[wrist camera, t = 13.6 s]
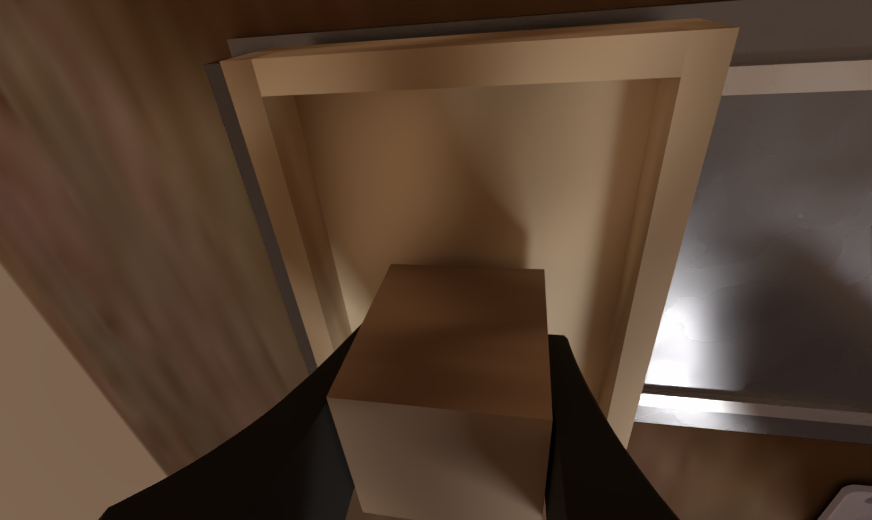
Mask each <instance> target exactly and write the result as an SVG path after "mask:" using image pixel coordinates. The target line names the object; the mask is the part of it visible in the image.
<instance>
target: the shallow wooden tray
mask: <svg viewBox="0 0 872 520" xmlns="http://www.w3.org/2000/svg"><path fill="white" fill-rule="evenodd" d="M739 28H740V27H736V26H731V25H727V24H722V23H718V22H713V21H709V20H704V19H700V18H691V19H677V20H663V21H649V22H634V23H620V24H606V25H592V26H577V27H563V28H549V29H534V30H520V31H506V32H492V33H477V34H463V35H449V36H435V37H420V38H406V39H392V40H377V41H363V42H349V43H335V44H320V45H306V46H292V47H278V48H268V49H264V50H261V51H257V52H253V53H249V54H245V55H241V56H238V57H234V58H230V59H226V60H222V61H220V64H221V67H222V70H223V74H224V77H225V80H226V83H227V86H228V89H229V92H230V95H231V99H232V102H233V105H234V108H235V111H236V114H237V117H238V120H239V124H240V127H241V130H242V133H243V136H244V139H245V142H246V145H247V148H248V152H249V155H250V158H251V161H252V164H253V167H254V170H255V173H256V177H257V180H258V183H259V186H260V189H261V192H262V195H263V198H264V202H265V205H266V208H267V211H268V214H269V217H270V220H271V223H272V227H273V230H274V233H275V236H276V239H277V242H278V245H279V248H280V252H281V255H282V258H283V261H284V264H285V267H286V270H287V273H288V277H289V280H290V283H291V286H292V289H293V292H294V295H295V298H296V302H297V305H298V308H299V311H300V314H301V317H302V320H303V323H304V327H305V330H306V333H307V336H308V339H309V342H310V345H311V348H312V351H313V355H314V358H315V361H316V364H317V367H319V366H320V365H321V364H322V363H323V362H324V361H325V360H326V359H327V358H328V357H329V356H330V355H331V354H332V353H333V352H334V351H335V350H336V349H337V348H338V347H339V346H340V345H341V344H342V343H343V342H344V341H345V340H346V339H347V338H348V337H349V336H350V335H351V334H352V333H353V332H354V331H355V330H356V329H357V328H358V327H359V326H360V325H361V324H362V322H363V320H364V318H365V316H366V314H367V312H368V310H369V308H370V306H371V304H372V302H373V300H374V298H375V296H376V294H377V291H378V289H379V287H380V285H381V283H382V281H383V279H384V277H385V275H386V273H387V271H388V269H389V267H390V265H391V264H409V265H437V266H466V267H494V268H522V269H544V271H545V289H546V307H547V326H548V334H553V335H565V336H566V337H567V338H568V341H569V344H570V347H571V349H572V352H573V355H574V357H575V359H576V362H577V364H578V366H579V368H580V371H581V373H582V375H583V377H584V379H585V381H586V383H587V385H588V387H589V389H590V391H591V393H592V394H593V396H594V398H595V400H596V402H597V404H598V406H599V407H600V409H601V411H602V412H603V414H604V416H605V418H606V419H607V421H608V423H609V424H610V426H611V427H612V429H613V431H614V432H615V434H616V435H617V437H618V439H619V440H620V442H621V443H622V445H623V446H624V448H625V449H627V445H628V442H629V438H630V434H631V431H632V427H633V423H634V419H635V416H636V412H637V408H638V404H639V401H640V397H641V393H642V390H643V386H644V382H645V378H646V375H647V371H648V367H649V363H650V360H651V356H652V352H653V349H654V345H655V341H656V337H657V334H658V330H659V326H660V323H661V319H662V315H663V311H664V308H665V304H666V300H667V296H668V293H669V289H670V285H671V282H672V278H673V274H674V270H675V267H676V263H677V259H678V255H679V252H680V248H681V244H682V241H683V237H684V233H685V229H686V226H687V222H688V218H689V215H690V211H691V207H692V203H693V200H694V196H695V192H696V188H697V185H698V181H699V177H700V174H701V170H702V166H703V162H704V159H705V155H706V151H707V147H708V144H709V140H710V136H711V133H712V129H713V125H714V121H715V118H716V114H717V110H718V107H719V103H720V99H721V95H722V92H723V88H724V84H725V80H726V77H727V73H728V69H729V66H730V62H731V58H732V54H733V51H734V47H735V43H736V39H737V36H738V32H739Z"/></svg>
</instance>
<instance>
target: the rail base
mask: <svg viewBox="0 0 872 520" xmlns="http://www.w3.org/2000/svg"><path fill="white" fill-rule="evenodd" d="M691 18H700V19H704V20H709V21H713V22H718V23H722V24H727V25H731V26H736V27H740V28H739V32H738V36H737V39H736V43H735V47H734V51H733V54H732V58H731V62H730V66H729V69H728V73H727V77H726V80H725V84H724V88H723V92H722V95H721V99H720V103H719V107H718V110H717V114H716V118H715V121H714V125H713V129H712V133H711V136H710V140H709V144H708V147H707V151H706V155H705V159H704V162H703V166H702V170H701V174H700V177H699V181H698V185H697V188H696V192H695V196H694V200H693V203H692V207H691V211H690V215H689V218H688V222H687V226H686V229H685V233H684V237H683V241H682V244H681V248H680V252H679V255H678V259H677V263H676V267H675V270H674V274H673V278H672V282H671V285H670V289H669V293H668V296H667V300H666V304H665V308H664V311H663V315H662V319H661V323H660V326H659V330H658V334H657V337H656V341H655V345H654V349H653V352H652V356H651V360H650V363H649V367H648V371H647V375H646V378H645V382H644V386H643V390H642V393H641V397H640V401H639V404H638V408H637V412H636V416H635V419H634V421H637V422H647V423H657V424H668V425H678V426H688V427H698V428H709V429H719V430H729V431H739V432H750V433H760V434H770V435H780V436H791V437H801V438H811V439H821V440H832V441H842V442H852V443H862V444H872V0H723V1H710V2H697V3H684V4H670V5H657V6H644V7H631V8H618V9H605V10H592V11H579V12H566V13H553V14H540V15H527V16H514V17H500V18H487V19H474V20H461V21H448V22H435V23H422V24H409V25H396V26H383V27H370V28H357V29H344V30H330V31H317V32H304V33H291V34H278V35H265V36H252V37H239V38H231V39H226V40H227V43H228V46H229V50H230V53H231V56H232V57H231V58H234V57H238V56H241V55H245V54H249V53H253V52H257V51H261V50H264V49H268V48H278V47H292V46H306V45H320V44H335V43H349V42H363V41H377V40H392V39H406V38H420V37H435V36H449V35H463V34H477V33H492V32H506V31H520V30H534V29H549V28H563V27H577V26H592V25H606V24H620V23H634V22H649V21H663V20H677V19H691ZM227 59H230V58H227ZM223 60H226V59H223ZM220 61H222V60H219V61H215V62H211V63H208V64H204V67H205V70H206V73H207V76H208V79H209V81H210V84H211V87H212V90H213V93H214V96H215V99H216V102H217V105H218V108H219V111H220V114H221V117H222V120H223V123H224V126H225V129H226V132H227V134H228V137H229V140H230V143H231V146H232V149H233V152H234V155H235V158H236V161H237V164H238V167H239V170H240V173H241V176H242V179H243V182H244V185H245V187H246V190H247V193H248V196H249V199H250V202H251V205H252V208H253V211H254V214H255V217H256V220H257V223H258V226H259V229H260V232H261V235H262V237H263V240H264V243H265V246H266V249H267V252H268V255H269V258H270V261H271V264H272V267H273V270H274V273H275V276H276V279H277V282H278V285H279V288H280V290H281V293H282V296H283V299H284V302H285V305H286V308H287V311H288V314H289V317H290V320H291V323H292V326H293V329H294V332H295V335H296V338H297V341H298V343H299V346H300V349H301V352H302V355H303V358H304V361H305V364H306V367H307V370H308V373H309V376H310V375H311V374H312V373H313V372H314V371H315V370H316V369H317V368H318V367H317V364H316V361H315V358H314V355H313V351H312V348H311V345H310V342H309V339H308V336H307V333H306V330H305V327H304V323H303V320H302V317H301V314H300V311H299V308H298V305H297V302H296V298H295V295H294V292H293V289H292V286H291V283H290V280H289V277H288V273H287V270H286V267H285V264H284V261H283V258H282V255H281V252H280V248H279V245H278V242H277V239H276V236H275V233H274V230H273V227H272V223H271V220H270V217H269V214H268V211H267V208H266V205H265V202H264V198H263V195H262V192H261V189H260V186H259V183H258V180H257V177H256V173H255V170H254V167H253V164H252V161H251V158H250V155H249V152H248V148H247V145H246V142H245V139H244V136H243V133H242V130H241V127H240V124H239V120H238V117H237V114H236V111H235V108H234V105H233V102H232V99H231V95H230V92H229V89H228V86H227V83H226V80H225V77H224V74H223V70H222V67H221V64H220Z"/></svg>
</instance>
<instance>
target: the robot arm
mask: <svg viewBox="0 0 872 520" xmlns="http://www.w3.org/2000/svg"><path fill="white" fill-rule="evenodd" d="M360 327H361V325H360V326H359V327H358V328H357V329H356V330H355V331H354V332H353V333H352V334H351V335H350V336H349V337H348V338H347V339H346V340H345V341H344V342H343V343H342V344H341V345H340V346H339V347H338V348H337V349H336V350H335V351H334V352H333V353H332V354H331V355H330V356H329V357H328V358H327V359H326V360H325V361H324V362H323V363H322V364H321V365H320V366H319V367H318V368H317V369H316V370H315V371H314V372H313V373H312V374H311V375H310V376H308V377H307V378H306V379H305V380H304V381H303V382H302V383H301V384H300V385H298V386H297V387H296V388H295V389H294V390H293V391H292V392H291V393H289V394H288V395H287V396H286V397H285V398H284V399H283V400H281V401H280V402H279V403H278V404H277V405H275V406H274V407H273V408H272V409H270V410H269V411H268V412H267V413H265V414H264V415H263V416H261V417H260V418H259V419H257V420H256V421H255V422H253V423H252V424H251V425H249V426H248V427H247V428H245V429H244V430H242V431H241V432H239V433H238V434H236V435H235V436H233V437H232V438H230V439H229V440H227V441H226V442H224V443H223V444H221V445H220V446H218V447H217V448H215V449H214V450H212V451H211V452H209V453H208V454H206V455H204V456H203V457H201V458H200V459H198V460H196V461H195V462H193V463H191V464H190V465H188V466H186V467H184V468H183V469H181V470H179V471H177V472H176V473H174V474H172V475H171V476H169V477H167V478H165V479H163V480H162V481H160V482H158V483H156V484H154V485H152V486H150V487H148V488H146V489H144V490H143V491H140V492H139V493H136V494H135V495H133V496H131V497H129V498H127V499H125V500H123V501H121V502H119V503H117V504H115V505H113V506H111V507H109V508H108V509H107V510H106V511H105V512H104V513H103V515H102V516H101V517H100V518H99V520H345V518H346V515H347V511H348V507H349V504H350V500H351V496H352V493H353V490H354V487H355V485H354V482H353V479H352V476H351V473H350V470H349V466H348V463H347V460H346V457H345V454H344V451H343V448H342V445H341V442H340V438H339V435H338V432H337V429H336V426H335V423H334V420H333V417H332V414H331V411H330V407H329V404H328V401H327V398H326V397H327V395H328V393H329V390H330V388H331V386H332V384H333V382H334V380H335V378H336V376H337V374H338V372H339V370H340V368H341V366H342V364H343V362H344V360H345V357H346V355H347V353H348V351H349V349H350V347H351V345H352V343H353V341H354V339H355V337H356V335H357V333H358V331H359V329H360ZM548 344H549V362H550V380H551V399H552V417H553V422H552V431H551V440H550V449H549V459H548V468H547V477H546V486H545V504H546V518H547V520H679V518H678V517H677V516H676V515H675V514H674V512H673V511H672V510H671V509H670V508H669V506H668V505H667V504H666V503H665V502H664V500H663V499H662V498H661V497H660V495H659V494H658V493H657V492H656V490H655V489H654V488H653V486H652V485H651V484H650V482H649V481H648V480H647V478H646V477H645V476H644V474H643V473H642V472H641V470H640V469H639V468H638V466H637V465H636V463H635V462H634V461H633V459H632V458H631V456H630V455H629V454H628V452H627V451H626V449H625V448H624V446H623V445H622V443H621V442H620V440H619V439H618V437H617V435H616V434H615V432H614V431H613V429H612V427H611V426H610V424H609V423H608V421H607V419H606V418H605V416H604V414H603V412H602V411H601V409H600V407H599V406H598V404H597V402H596V400H595V398H594V396H593V394H592V393H591V391H590V389H589V387H588V385H587V383H586V381H585V379H584V377H583V375H582V373H581V371H580V368H579V366H578V364H577V362H576V359H575V357H574V355H573V352H572V349H571V347H570V344H569V341H568V338H567V337H566V336H565V335H553V334H548ZM818 520H872V486H866V485H855V484H853V485H847V486H845V487H843V488H842V489H841V490H840V491H839V493H838V494H837V495H836V496H835V498H834V499H833V500H832V502H831V503H830V504H829V505H828V507H827V508H826V509H825V511H824V512H823V513H822V514H821V516H820V517H819V518H818Z"/></svg>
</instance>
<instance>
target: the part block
mask: <svg viewBox="0 0 872 520" xmlns="http://www.w3.org/2000/svg"><path fill="white" fill-rule="evenodd" d="M326 398H327V401H328V404H329V407H330V411H331V414H332V417H333V420H334V423H335V426H336V429H337V432H338V435H339V438H340V442H341V445H342V448H343V451H344V454H345V457H346V460H347V463H348V466H349V470H350V473H351V476H352V479H353V482H354V485H355V488H356V491H357V494H358V497H359V501H360V504H361V507H362V510H363V512H366V513H373V514H379V515H386V516H392V517H399V518H405V519H412V520H542V514H543V505H544V495H545V486H546V477H547V468H548V459H549V449H550V440H551V431H552V422H553V417H552V399H551V380H550V362H549V344H548V326H547V307H546V289H545V271H544V269H522V268H494V267H466V266H437V265H409V264H391V265H390V267H389V269H388V271H387V273H386V275H385V277H384V279H383V281H382V283H381V285H380V287H379V289H378V291H377V294H376V296H375V298H374V300H373V302H372V304H371V306H370V308H369V310H368V312H367V314H366V316H365V318H364V320H363V322H362V324H361V327H360V329H359V331H358V333H357V335H356V337H355V339H354V341H353V343H352V345H351V347H350V349H349V351H348V353H347V355H346V357H345V360H344V362H343V364H342V366H341V368H340V370H339V372H338V374H337V376H336V378H335V380H334V382H333V384H332V386H331V388H330V390H329V393H328V395H327V397H326Z"/></svg>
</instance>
